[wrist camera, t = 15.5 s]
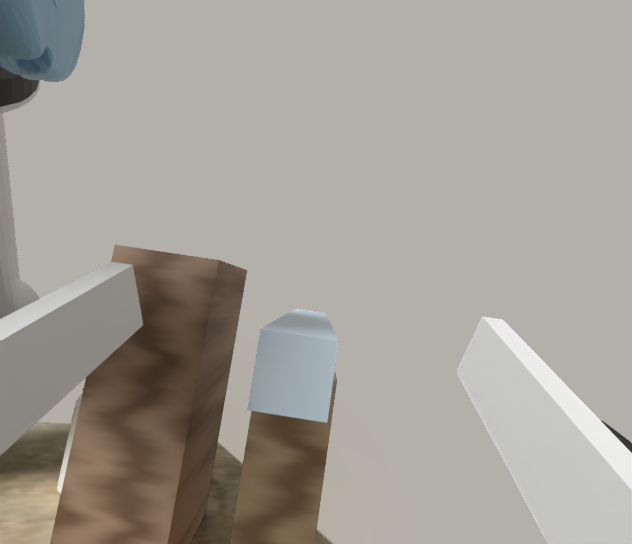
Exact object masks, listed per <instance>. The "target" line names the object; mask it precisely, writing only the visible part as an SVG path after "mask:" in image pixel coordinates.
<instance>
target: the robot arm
mask: <svg viewBox="0 0 632 544" xmlns="http://www.w3.org/2000/svg"><path fill="white" fill-rule="evenodd" d="M83 33H84V0H0V456H1V455H2V454H3V453H4V452H5V451H6V450H7V449H8V448H9V447H10V446H11V445H13V444H14V443H15V442H16V441H17V440H18V439H19V438H20V437H21V436H22V435H23V434H25V433H26V432H27V431H28V430H29V429H30V428H31V427H32V426H33V425H34V424H36V423H37V422H38V421H39V420H40V419H41V418H42V417H43V416H44V415H45V414H46V413H47V412H49V411H50V410H51V409H52V408H53V407H54V406H55V405H56V404H57V403H58V402H60V401H61V400H62V399H63V398H64V397H65V396H66V395H67V394H68V393H69V392H71V391H72V390H73V389H74V388H75V387H76V386H77V385H78V384H79V383H80V382H81V381H82V380H84V379H85V378H86V377H87V376H88V375H89V374H90V373H91V372H92V371H93V370H95V369H96V368H97V367H98V366H99V365H100V364H101V363H102V362H103V361H104V360H106V359H107V358H108V357H109V356H110V355H111V354H112V353H113V352H114V351H115V350H116V349H118V348H119V347H120V346H121V345H122V344H123V343H124V342H125V341H126V340H127V339H128V338H130V337H131V336H132V335H133V334H134V333H135V332H136V331H137V330H138V329H139V328H140V327H142V326H143V320H142V314H141V309H140V303H139V297H138V292H137V286H136V280H135V274H134V269H133V265H130V264H124V263H117V262H111V263H110V264H108V265H106V266H104V267H102V268H100V269H98V270H96V271H94V272H92V273H90V274H88V275H86V276H84V277H82V278H80V279H78V280H76V281H74V282H72V283H70V284H68V285H66V286H65V287H62V288H60V289H58V290H56V291H54V292H53V293H51V294H49V295H47V296H45V297H43V298H41V299H40V298H39V296H38V295H37V293H36V292H35V291H34V290H33V289H32V288H31V287H30V286H29V285H28V284H26V283H25V282H23V281H21V280H20V277H19V268H18V259H17V248H16V238H15V228H14V219H13V208H12V199H11V189H10V179H9V170H8V159H7V149H6V140H5V129H4V119H3V113H4V112H8V111H10V110H14V109H17V108H19V107H21V106H23V105H25V104H27V103H29V101H31V100H32V99H33V98H34V97H35V96H36V94H37V92H38V90H39V83H40V80H44V81H49V82H58V81H63V80H65V79H66V78H68V77H69V76H70V75H71V73H72V71H73V70H74V68H75V66H76V63H77V60H78V57H79V54H80V50H81V44H82V39H83ZM456 372H457V374H458V376H459V378H460V380H461V382H462V384H463V386H464V387H465V389H466V391H467V393H468V395H469V397H470V399H471V400H472V402H473V404H474V406H475V408H476V410H477V412H478V413H479V416H480V417H481V419H482V421H483V423H484V425H485V427H486V429H487V431H488V432H489V434H490V436H491V438H492V440H493V442H494V444H495V445H496V447H497V449H498V451H499V453H500V455H501V457H502V459H503V461H504V463H505V464H506V466H507V468H508V470H509V472H510V474H511V476H512V477H513V479H514V481H515V483H516V485H517V487H518V489H519V491H520V493H521V494H522V496H523V498H524V500H525V502H526V504H527V506H528V507H529V509H530V511H531V513H532V515H533V517H534V519H535V521H536V523H537V524H538V526H539V528H540V530H541V532H542V534H543V536H544V537H545V540H546V541H547V543H548V544H632V443H631V442H630V441H629V440H627V439H626V438H625V437H623V436H622V435H621V434H619V433H618V432H617V431H615V430H614V429H613V428H611V427H610V426H609V425H607V424H606V423H605V422H603V421H600V420H599V419H598V418H597V417H596V416H595V415H594V414H593V412H592V411H591V410H589V408H588V407H587V406H586V405H585V404H584V403H583V402H582V401H581V400H580V399H579V398H578V397H577V396H576V395H575V394H574V393H573V392H572V391H571V390H570V389H569V388H568V387H567V386H566V384H565V383H564V382H563V381H562V380H561V379H560V378H559V377H558V376H557V375H556V374H555V373H554V372H553V371H552V370H551V369H550V368H549V367H548V366H547V365H546V364H545V363H544V362H543V361H542V360H541V359H540V358H539V357H538V356H537V355H536V353H534V351H533V350H532V349H531V348H530V347H529V346H528V345H527V344H526V343H525V342H524V341H523V340H522V339H521V338H520V337H519V336H518V335H517V334H516V333H515V332H514V331H513V330H512V329H511V328H510V327H509V326H508V324H507V323H506V322H505V321H504V320H501V319H495V318H488V317H482V318H481V321H480V323H479V325H478V327H477V329H476V331H475V333H474V335H473V337H472V339H471V342H470V344H469V346H468V348H467V350H466V352H465V354H464V357H463V359H462V361H461V363H460V365H459V367H458V369H457V371H456Z"/></svg>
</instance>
